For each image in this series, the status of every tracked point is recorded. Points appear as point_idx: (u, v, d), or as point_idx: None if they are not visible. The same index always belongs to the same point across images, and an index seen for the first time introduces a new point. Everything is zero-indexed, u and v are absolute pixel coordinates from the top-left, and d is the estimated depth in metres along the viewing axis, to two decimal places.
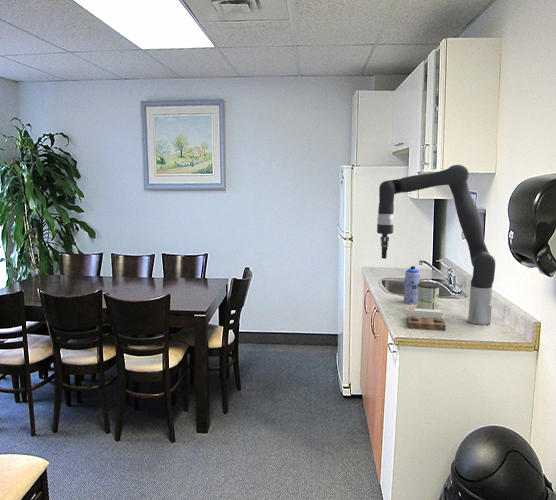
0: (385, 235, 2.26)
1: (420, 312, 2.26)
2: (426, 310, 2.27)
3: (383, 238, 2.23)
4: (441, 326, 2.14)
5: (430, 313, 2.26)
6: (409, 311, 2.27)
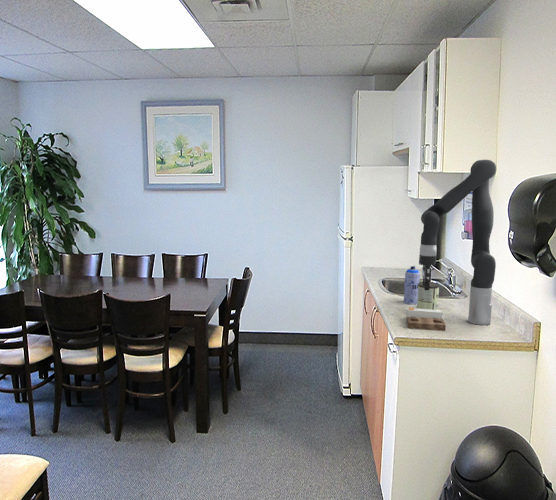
0: (428, 266, 2.21)
1: (420, 312, 2.26)
2: (426, 310, 2.27)
3: (426, 270, 2.18)
4: (441, 326, 2.14)
5: (430, 313, 2.26)
6: (409, 311, 2.27)
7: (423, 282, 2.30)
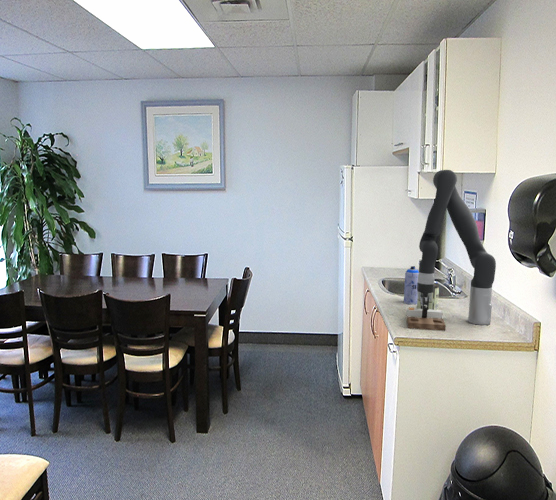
0: (426, 294, 2.23)
1: (420, 312, 2.26)
2: None
3: (424, 298, 2.20)
4: (441, 326, 2.14)
5: (430, 313, 2.26)
6: (409, 311, 2.27)
7: None
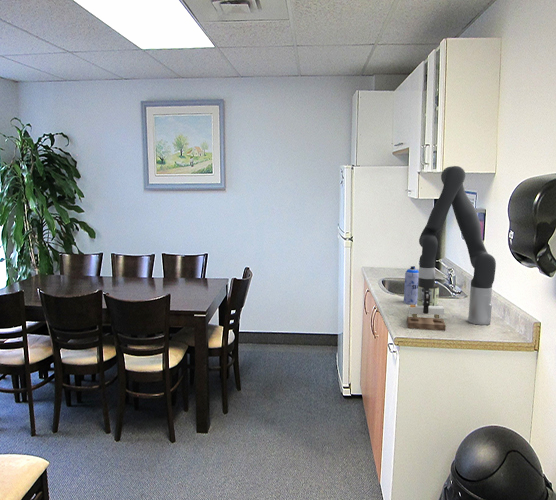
0: (427, 289, 2.22)
1: (422, 309, 2.26)
2: None
3: (425, 296, 2.20)
4: (441, 326, 2.14)
5: (432, 310, 2.25)
6: (411, 308, 2.27)
7: None
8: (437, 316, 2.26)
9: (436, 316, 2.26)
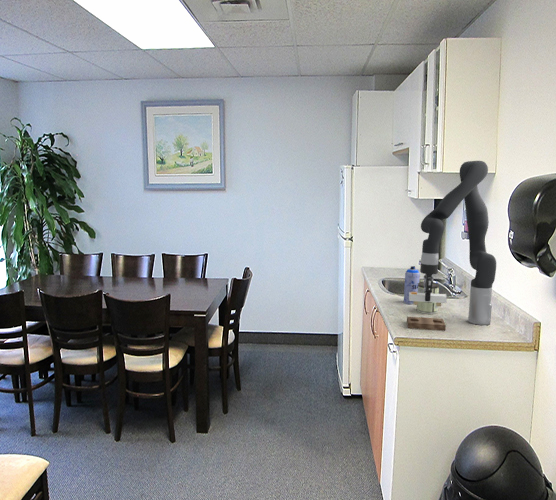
0: (430, 276, 2.13)
1: (423, 296, 2.16)
2: None
3: (428, 282, 2.10)
4: (441, 326, 2.14)
5: (434, 297, 2.15)
6: (412, 295, 2.17)
7: None
8: (439, 304, 2.16)
9: (438, 304, 2.16)
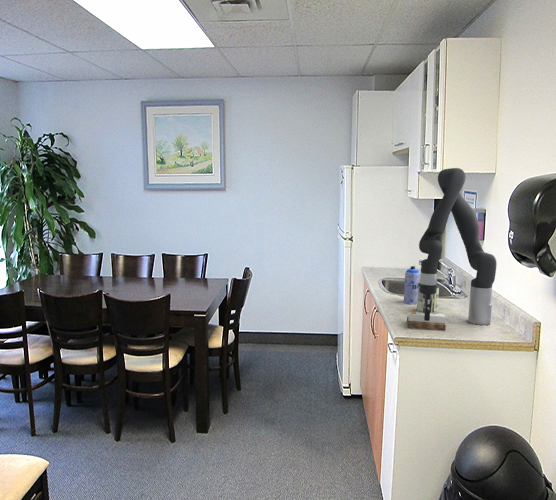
0: (428, 296, 2.14)
1: (422, 316, 2.18)
2: None
3: (427, 301, 2.11)
4: (441, 326, 2.14)
5: (433, 317, 2.17)
6: (411, 315, 2.19)
7: (423, 312, 2.22)
8: None
9: None
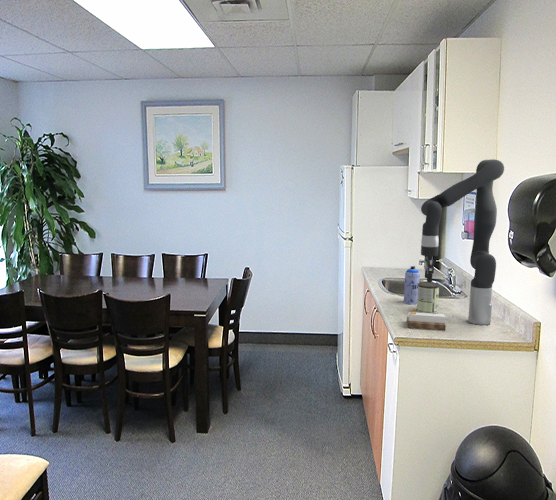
0: (430, 258, 2.16)
1: (422, 316, 2.18)
2: (428, 314, 2.18)
3: (429, 261, 2.13)
4: (441, 326, 2.14)
5: (433, 317, 2.17)
6: (411, 315, 2.19)
7: (425, 274, 2.25)
8: None
9: None
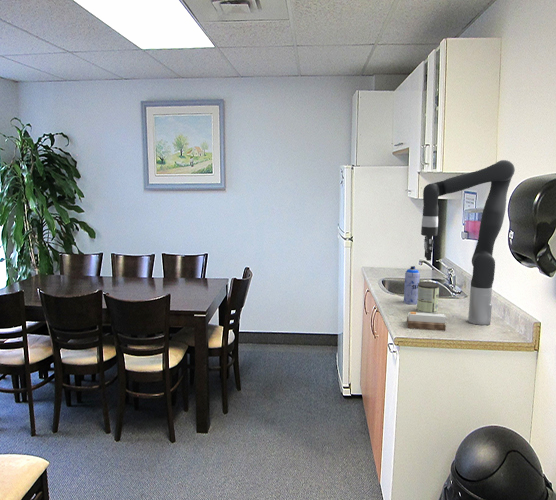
0: (430, 237, 2.28)
1: (422, 316, 2.18)
2: (428, 314, 2.18)
3: (428, 240, 2.25)
4: (441, 326, 2.14)
5: (433, 317, 2.17)
6: (411, 315, 2.19)
7: (425, 253, 2.36)
8: None
9: None
